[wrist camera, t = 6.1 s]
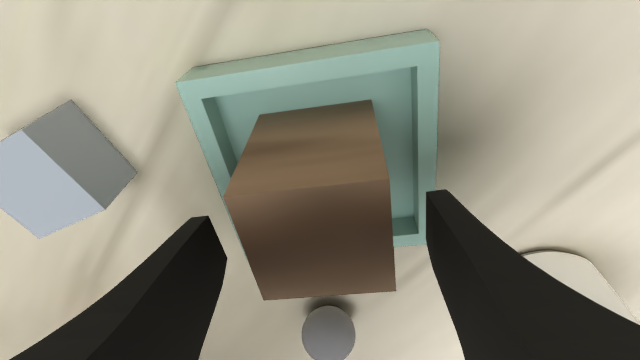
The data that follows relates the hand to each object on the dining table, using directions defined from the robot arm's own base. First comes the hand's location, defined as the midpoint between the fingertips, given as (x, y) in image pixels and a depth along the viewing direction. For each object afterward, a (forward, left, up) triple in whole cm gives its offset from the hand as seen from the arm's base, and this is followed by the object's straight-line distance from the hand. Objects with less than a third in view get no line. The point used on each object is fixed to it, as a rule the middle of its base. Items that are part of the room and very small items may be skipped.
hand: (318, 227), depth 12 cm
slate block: (+2, +11, -5) cm, 13 cm away
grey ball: (-11, +1, -3) cm, 12 cm away
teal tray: (0, 0, -5) cm, 5 cm away
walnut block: (0, 0, -4) cm, 4 cm away
